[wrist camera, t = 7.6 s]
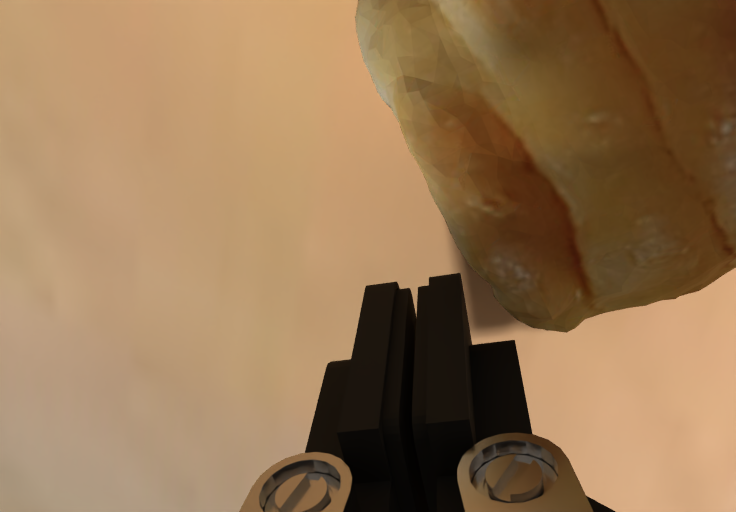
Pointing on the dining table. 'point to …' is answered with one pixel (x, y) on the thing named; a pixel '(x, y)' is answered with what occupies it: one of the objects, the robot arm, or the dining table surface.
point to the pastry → (569, 142)
